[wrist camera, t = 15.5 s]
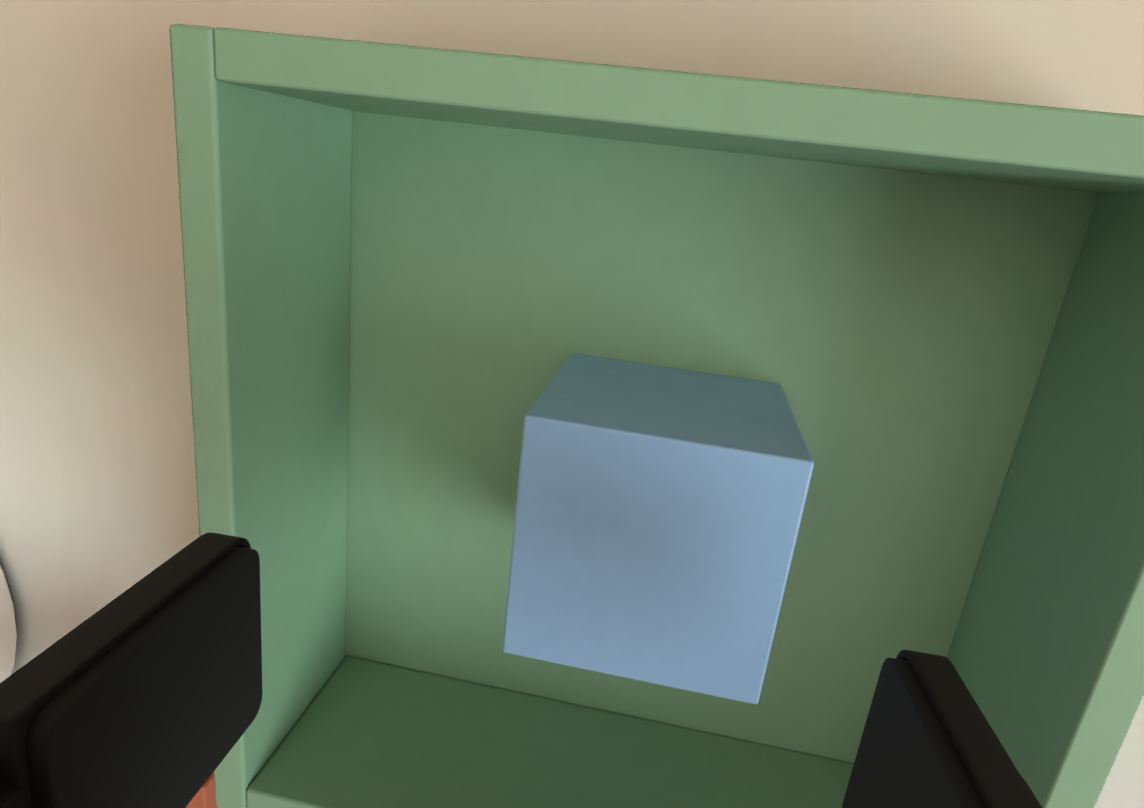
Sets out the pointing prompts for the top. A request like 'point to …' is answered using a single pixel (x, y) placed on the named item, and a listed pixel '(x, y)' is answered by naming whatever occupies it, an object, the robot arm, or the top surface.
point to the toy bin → (670, 339)
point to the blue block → (655, 525)
